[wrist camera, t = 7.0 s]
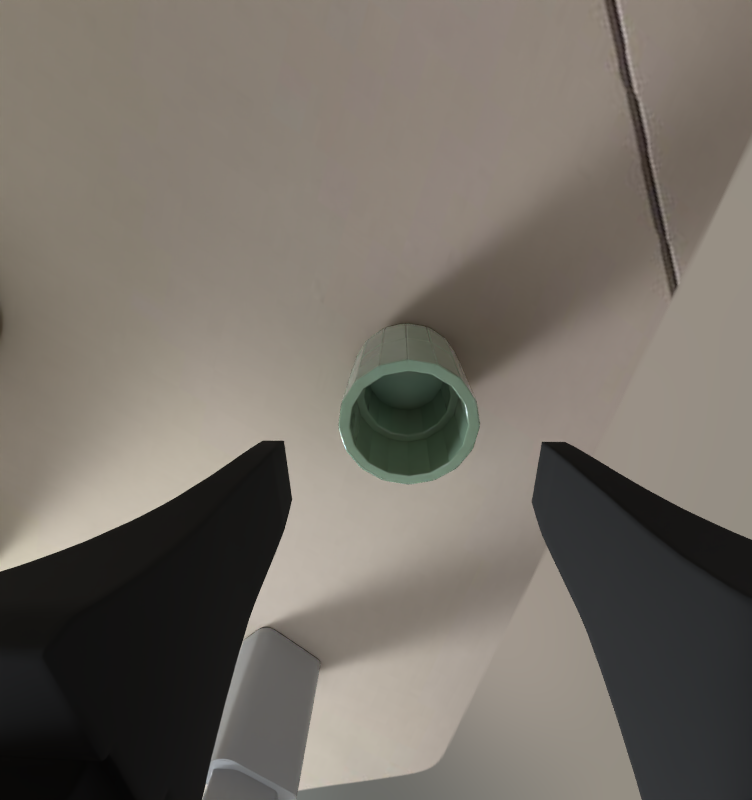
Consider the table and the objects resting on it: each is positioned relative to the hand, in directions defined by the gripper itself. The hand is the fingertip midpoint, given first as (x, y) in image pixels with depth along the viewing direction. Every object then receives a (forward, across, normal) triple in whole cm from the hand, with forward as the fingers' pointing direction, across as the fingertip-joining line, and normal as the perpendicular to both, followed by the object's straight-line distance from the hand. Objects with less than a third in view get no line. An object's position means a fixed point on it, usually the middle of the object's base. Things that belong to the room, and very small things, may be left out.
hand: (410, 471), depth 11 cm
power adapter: (+8, +9, +21) cm, 24 cm away
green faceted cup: (+8, 0, 0) cm, 8 cm away
